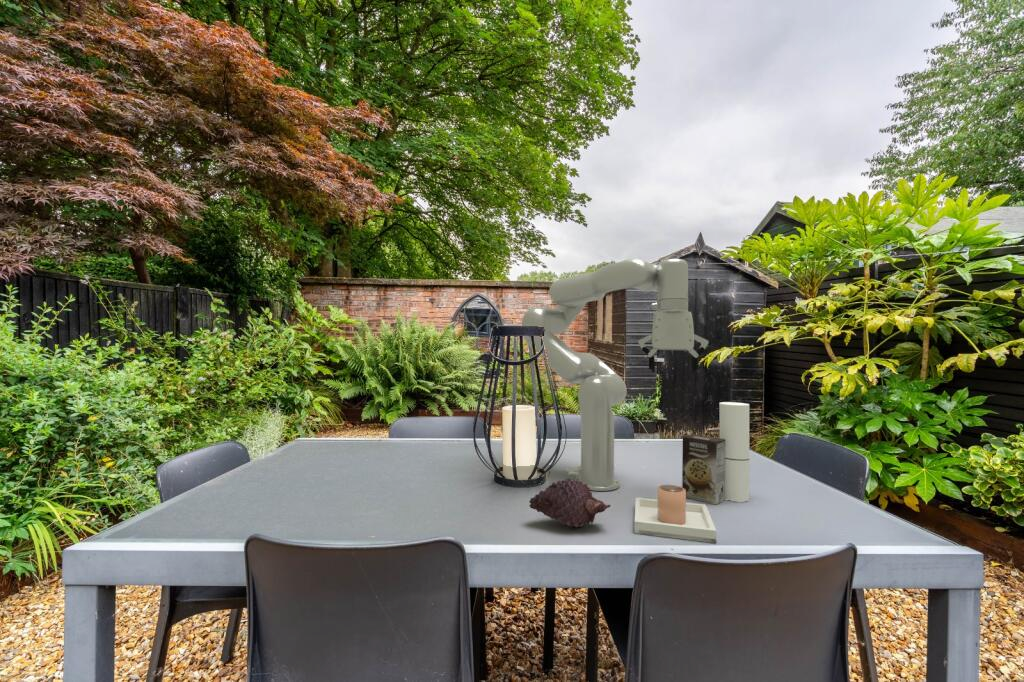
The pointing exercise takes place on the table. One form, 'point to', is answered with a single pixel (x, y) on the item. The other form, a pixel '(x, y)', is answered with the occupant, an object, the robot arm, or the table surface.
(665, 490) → the cup
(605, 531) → the table surface
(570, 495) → the pine cone
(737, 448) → the cylindrical container
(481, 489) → the table surface
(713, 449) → the coffee box
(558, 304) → the robot arm
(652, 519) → the tray
